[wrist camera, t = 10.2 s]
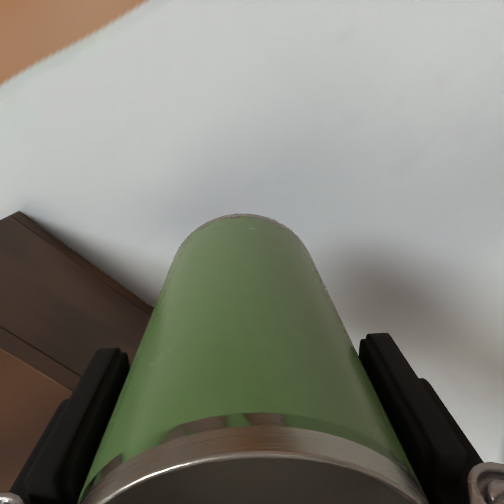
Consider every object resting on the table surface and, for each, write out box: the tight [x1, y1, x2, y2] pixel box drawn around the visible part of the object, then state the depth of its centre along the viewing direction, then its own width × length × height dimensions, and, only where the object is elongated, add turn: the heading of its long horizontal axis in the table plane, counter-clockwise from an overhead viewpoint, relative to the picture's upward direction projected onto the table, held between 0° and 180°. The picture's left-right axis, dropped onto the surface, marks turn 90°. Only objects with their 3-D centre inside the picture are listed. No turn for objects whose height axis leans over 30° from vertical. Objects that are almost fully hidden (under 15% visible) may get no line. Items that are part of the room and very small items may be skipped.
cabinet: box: [0, 211, 154, 493], centre depth 21 cm, size 15×15×9 cm
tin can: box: [77, 214, 429, 504], centre depth 11 cm, size 6×6×12 cm
